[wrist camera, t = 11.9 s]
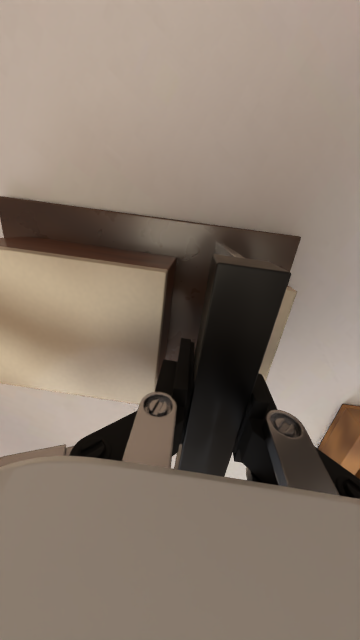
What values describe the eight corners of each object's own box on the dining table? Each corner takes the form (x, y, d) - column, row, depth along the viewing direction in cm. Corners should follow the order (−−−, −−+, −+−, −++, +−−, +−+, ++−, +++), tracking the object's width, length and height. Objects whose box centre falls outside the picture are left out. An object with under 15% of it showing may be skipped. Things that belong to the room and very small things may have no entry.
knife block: (342, 403, 22) (363, 429, 19) (393, 411, 22) (421, 438, 19) (292, 492, 28) (303, 522, 25) (332, 499, 28) (347, 529, 25)
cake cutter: (204, 239, 15) (217, 262, 6) (233, 243, 15) (292, 273, 6) (182, 376, 20) (169, 513, 11) (204, 379, 20) (210, 520, 10)
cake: (6, 197, 17) (-115, 178, 10) (295, 236, 16) (360, 242, 10) (33, 353, 22) (-34, 404, 16) (248, 385, 22) (270, 452, 15)
